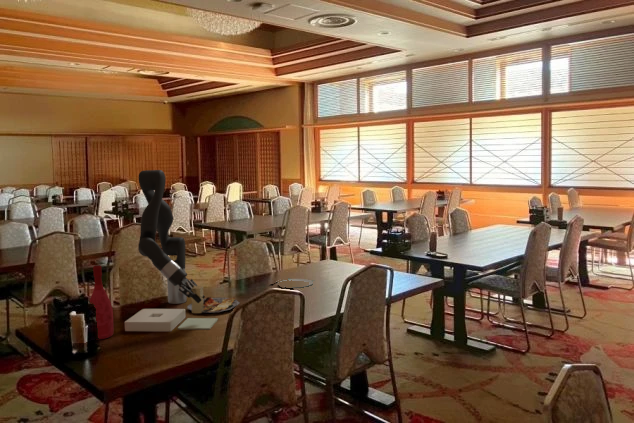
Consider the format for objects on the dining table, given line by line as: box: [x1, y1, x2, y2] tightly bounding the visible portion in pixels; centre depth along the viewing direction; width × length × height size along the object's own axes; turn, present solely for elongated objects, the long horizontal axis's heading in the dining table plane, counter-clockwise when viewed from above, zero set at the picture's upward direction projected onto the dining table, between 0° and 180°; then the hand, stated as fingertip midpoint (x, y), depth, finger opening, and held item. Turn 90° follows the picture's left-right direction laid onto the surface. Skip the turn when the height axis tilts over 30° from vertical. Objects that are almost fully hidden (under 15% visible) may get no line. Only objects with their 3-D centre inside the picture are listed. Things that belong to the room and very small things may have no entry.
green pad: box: [177, 317, 219, 330], centre depth 239 cm, size 14×14×1 cm
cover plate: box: [124, 308, 187, 332], centre depth 240 cm, size 20×20×4 cm
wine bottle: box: [89, 264, 115, 340], centre depth 224 cm, size 10×10×30 cm
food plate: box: [186, 296, 240, 314], centre depth 265 cm, size 25×23×4 cm
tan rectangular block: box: [190, 285, 204, 314], centre depth 238 cm, size 5×4×11 cm
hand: (201, 300), depth 238 cm, fingers closed on tan rectangular block, 4 cm apart
